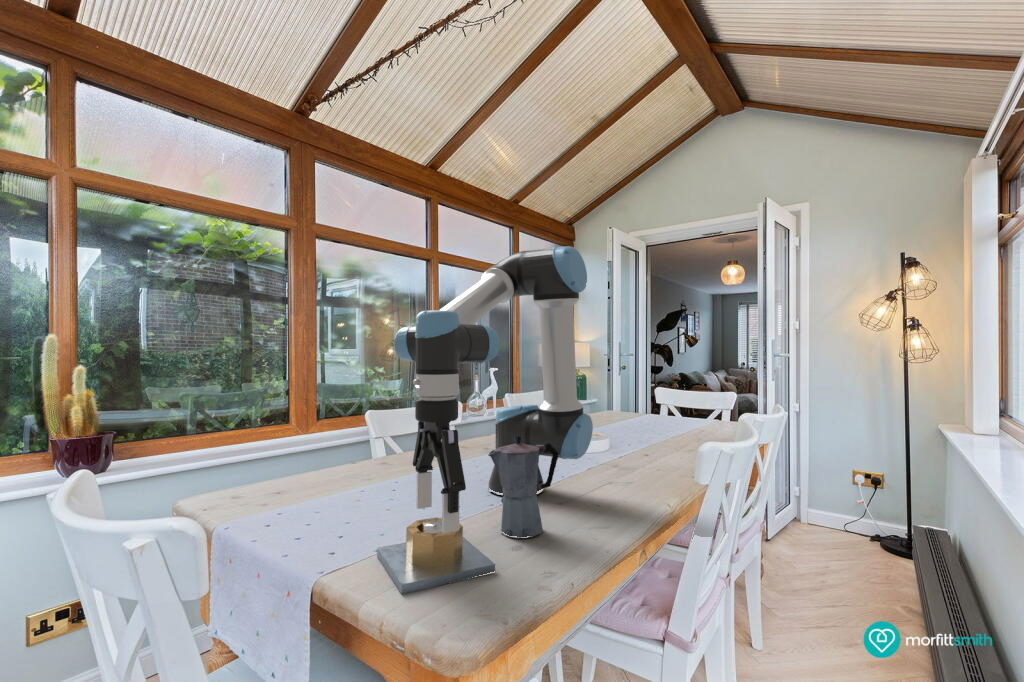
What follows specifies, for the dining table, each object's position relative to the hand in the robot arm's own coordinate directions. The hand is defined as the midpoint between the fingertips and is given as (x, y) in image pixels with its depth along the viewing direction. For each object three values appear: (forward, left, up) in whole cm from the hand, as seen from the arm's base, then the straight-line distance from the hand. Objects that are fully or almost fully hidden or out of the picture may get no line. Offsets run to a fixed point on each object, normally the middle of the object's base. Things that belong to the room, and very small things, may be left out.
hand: (436, 518), depth 86 cm
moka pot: (-22, -7, -8) cm, 24 cm away
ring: (0, 0, -6) cm, 6 cm away
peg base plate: (0, 0, -8) cm, 8 cm away
